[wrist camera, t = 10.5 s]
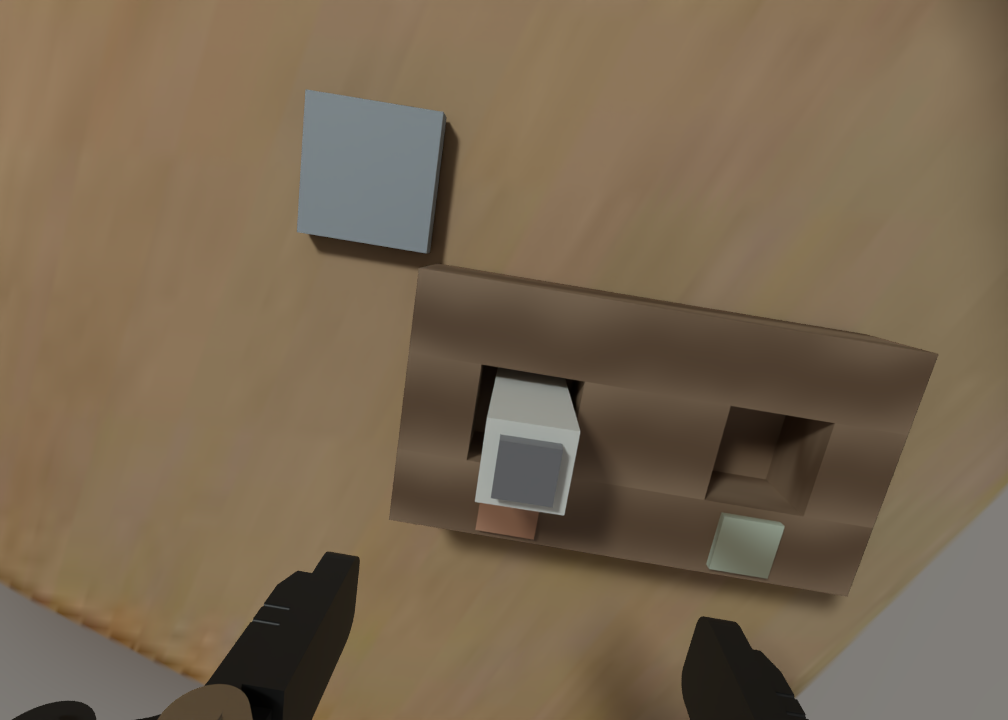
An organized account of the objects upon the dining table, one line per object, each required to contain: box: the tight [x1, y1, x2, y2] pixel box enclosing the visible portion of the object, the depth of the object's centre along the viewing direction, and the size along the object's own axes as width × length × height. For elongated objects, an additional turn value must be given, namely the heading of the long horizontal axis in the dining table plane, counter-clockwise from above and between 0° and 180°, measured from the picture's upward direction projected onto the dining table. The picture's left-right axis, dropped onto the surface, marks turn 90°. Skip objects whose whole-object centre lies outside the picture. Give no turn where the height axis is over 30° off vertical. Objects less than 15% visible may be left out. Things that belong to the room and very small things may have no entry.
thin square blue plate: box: [297, 90, 446, 253], centre depth 26 cm, size 7×7×1 cm
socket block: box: [389, 264, 938, 596], centre depth 26 cm, size 13×24×5 cm, turn 81°
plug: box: [475, 367, 580, 515], centre depth 23 cm, size 4×4×10 cm
